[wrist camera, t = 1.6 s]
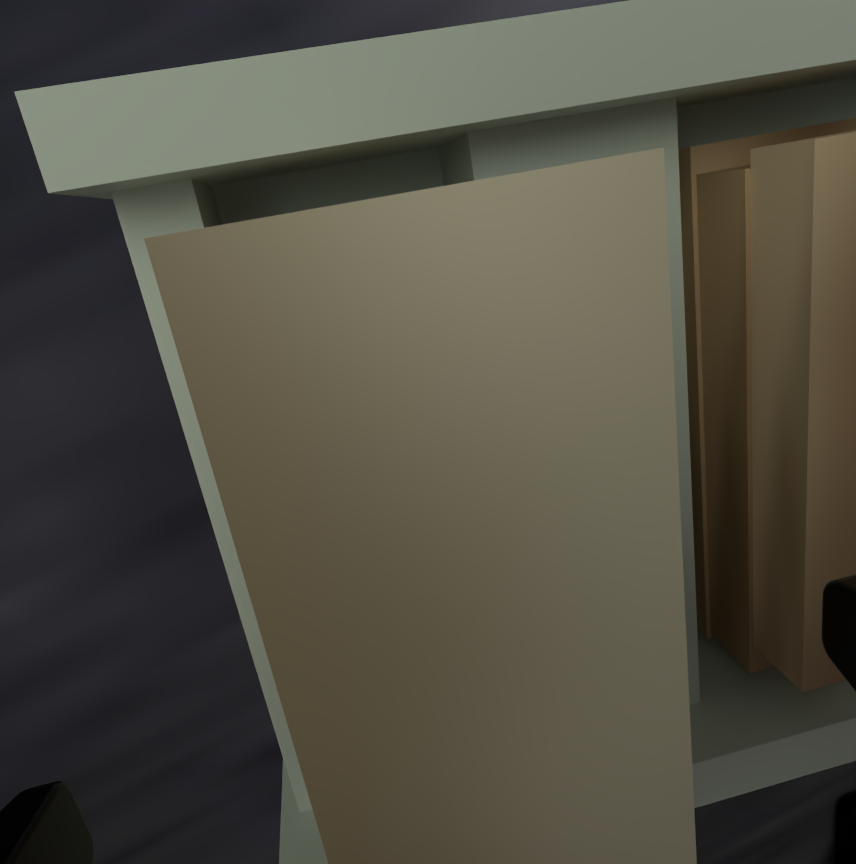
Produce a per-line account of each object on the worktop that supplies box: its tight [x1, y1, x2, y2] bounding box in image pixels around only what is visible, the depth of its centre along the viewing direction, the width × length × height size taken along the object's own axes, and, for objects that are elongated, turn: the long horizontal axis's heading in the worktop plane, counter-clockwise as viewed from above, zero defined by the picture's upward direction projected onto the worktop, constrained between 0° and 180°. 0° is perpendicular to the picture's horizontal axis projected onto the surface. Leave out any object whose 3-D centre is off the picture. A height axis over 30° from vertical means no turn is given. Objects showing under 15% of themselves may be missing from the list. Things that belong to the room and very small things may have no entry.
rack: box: [15, 0, 856, 864], centre depth 14 cm, size 16×15×5 cm
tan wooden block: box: [144, 147, 697, 864], centre depth 10 cm, size 3×11×10 cm, turn 9°
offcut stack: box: [678, 118, 856, 692], centre depth 14 cm, size 4×11×4 cm, turn 10°
